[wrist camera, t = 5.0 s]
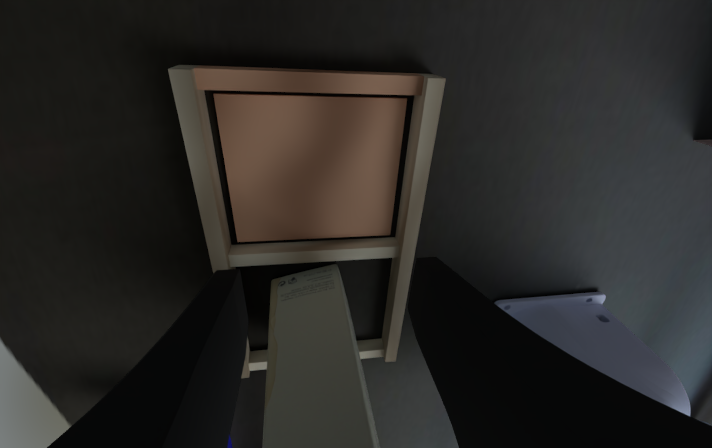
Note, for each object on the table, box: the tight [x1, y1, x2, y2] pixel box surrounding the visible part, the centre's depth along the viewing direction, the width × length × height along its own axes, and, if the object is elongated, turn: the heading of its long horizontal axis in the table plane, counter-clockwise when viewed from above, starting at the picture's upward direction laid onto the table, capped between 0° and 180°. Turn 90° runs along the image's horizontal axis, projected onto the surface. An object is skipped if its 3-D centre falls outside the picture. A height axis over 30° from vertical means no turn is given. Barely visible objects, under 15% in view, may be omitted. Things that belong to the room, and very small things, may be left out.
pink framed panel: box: [168, 65, 446, 378], centre depth 19 cm, size 11×19×2 cm, turn 177°
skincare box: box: [263, 264, 380, 448], centre depth 17 cm, size 6×4×12 cm
